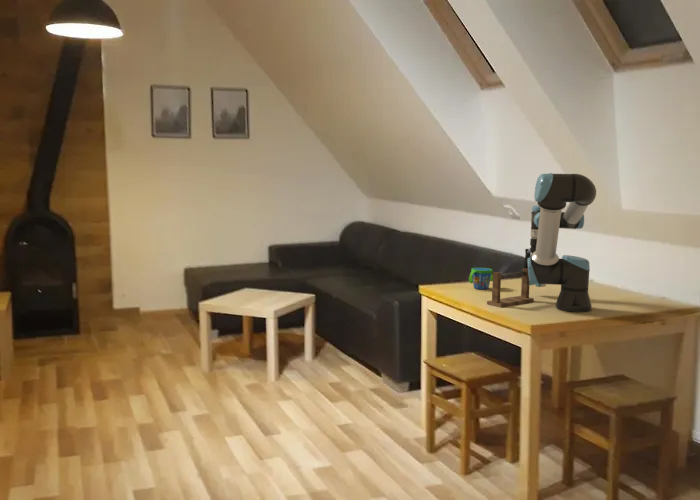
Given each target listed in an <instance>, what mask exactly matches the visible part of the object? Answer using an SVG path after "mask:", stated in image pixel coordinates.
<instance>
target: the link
mask: <svg viewBox="0 0 700 500" xmlns="http://www.w3.org/2000/svg"><path fill="white" fill-rule="evenodd" d="M546 285H547V284H545V287H546ZM529 286H535V287H538V288H541V287H540V286H541V284H533V283H531V282H530V285H529Z"/></svg>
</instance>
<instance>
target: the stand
mask: <svg viewBox="0 0 700 500" xmlns="http://www.w3.org/2000/svg"><path fill="white" fill-rule="evenodd" d="M515 277H517V278H518V277H521V289H520V290H521V291H520V295H517V296H511V297H505V298H501V288H502V287H501V285H502V279H510V278H515ZM530 286H531V285H530V281H529V275H528V269H526V268H524V267H523V268H522V269H521V271H516V272H507V273H502V272H498V271H495V272H494V271H493V281H492V290H491V292H492V293H491V295H492V296H491V300H487V301H486V305H487V304H488V306H493V307H496V308H505V307H511V306H517V305H522V304H529V303H534V301H535V298H533V297H530Z"/></svg>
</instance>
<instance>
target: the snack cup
mask: <svg viewBox="0 0 700 500" xmlns="http://www.w3.org/2000/svg"><path fill="white" fill-rule="evenodd" d="M470 270H471V272H470V274H469V277H468V282H469V283H470V284H473V285H472V286H473V289H475V290H488V289H489V287H490V283H491V282H493V272H494V271H493V269H492V268H489V267H472V268H471V269H470Z"/></svg>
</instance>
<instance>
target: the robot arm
mask: <svg viewBox="0 0 700 500" xmlns="http://www.w3.org/2000/svg"><path fill="white" fill-rule="evenodd" d="M533 196H534V197H533V199H534V201H535V202H537V205H533V206H532V207H531V212H530V213H531V220H530V221H531V223H530V224H531V225H530V226H531V227H530V237H531V238H530V240H529V243H530V248H525V249H524V252H525V256H524V262H523V269H524V268H526V269H528V275H529V281H530V282H531V283H533V284H541V286H540V287H539V288H543V287H546V286H545V284H546V285H555V286H559V285H560V292H559V295H558V297H557V299H556V302H555V308H556V309H557V310H561V311H565V312H566V311H567V312H576V313H577V312H579V313H580V312H581V313H583V312H584V313H585V312H589V311H592V306H593V305H592V302H591V298H590V294H589V282H590V260H588V259H587V258H584V257H580V256H575V255H568V254H567V255H566V254H564V255H562V256H561V258H560V257H559V255H558V254H557V248H558V247H557V246H558V240H559V232H560V229H567V230H568V229H569V230H571V229H572V230H576V229H577V230H578V229H579V230H580V229H583V228H584V224H585V215H584V214H585V212H586V210H587V208H588V207H589V205H592V203H593V202H594V201H595V199H596V197H597V188H596V186H595V184H594V183H593V181H592V180H590V178H588V177H587V176H586V175H582V174H579V173H552V172H549V173H541V174H539V176H538V177H537V179H536V183H535V186H534V195H533ZM567 203H568V205H567ZM566 207H567V208H566ZM565 208H566V209H565ZM564 209H565V211H563V210H564Z"/></svg>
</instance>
